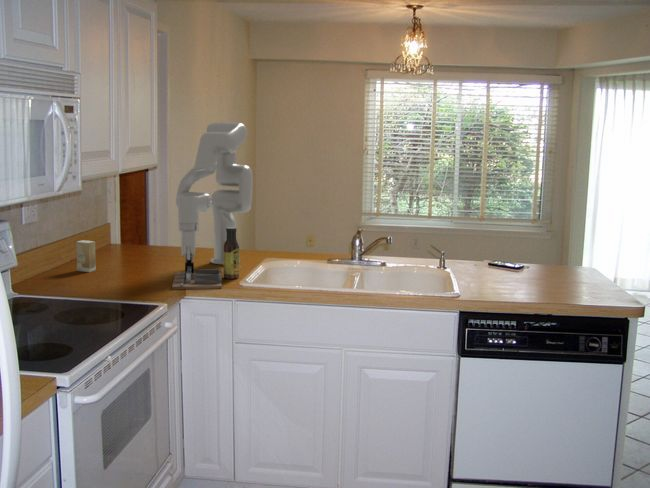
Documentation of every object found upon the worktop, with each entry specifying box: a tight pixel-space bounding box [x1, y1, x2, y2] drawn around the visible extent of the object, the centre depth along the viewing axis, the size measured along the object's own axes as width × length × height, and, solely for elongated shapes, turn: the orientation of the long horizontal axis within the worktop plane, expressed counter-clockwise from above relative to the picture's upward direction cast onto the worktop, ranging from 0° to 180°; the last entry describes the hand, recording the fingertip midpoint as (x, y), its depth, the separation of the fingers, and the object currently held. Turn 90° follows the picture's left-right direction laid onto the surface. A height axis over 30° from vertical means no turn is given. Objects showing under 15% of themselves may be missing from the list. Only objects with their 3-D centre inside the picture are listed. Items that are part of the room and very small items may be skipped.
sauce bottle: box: [222, 227, 240, 280], centre depth 267 cm, size 7×6×20 cm
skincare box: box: [75, 239, 97, 273], centre depth 276 cm, size 6×4×12 cm
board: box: [171, 268, 223, 290], centre depth 262 cm, size 24×18×4 cm
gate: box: [186, 266, 192, 283], centre depth 260 cm, size 10×2×4 cm, turn 9°
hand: (189, 272), depth 267 cm, fingers closed
